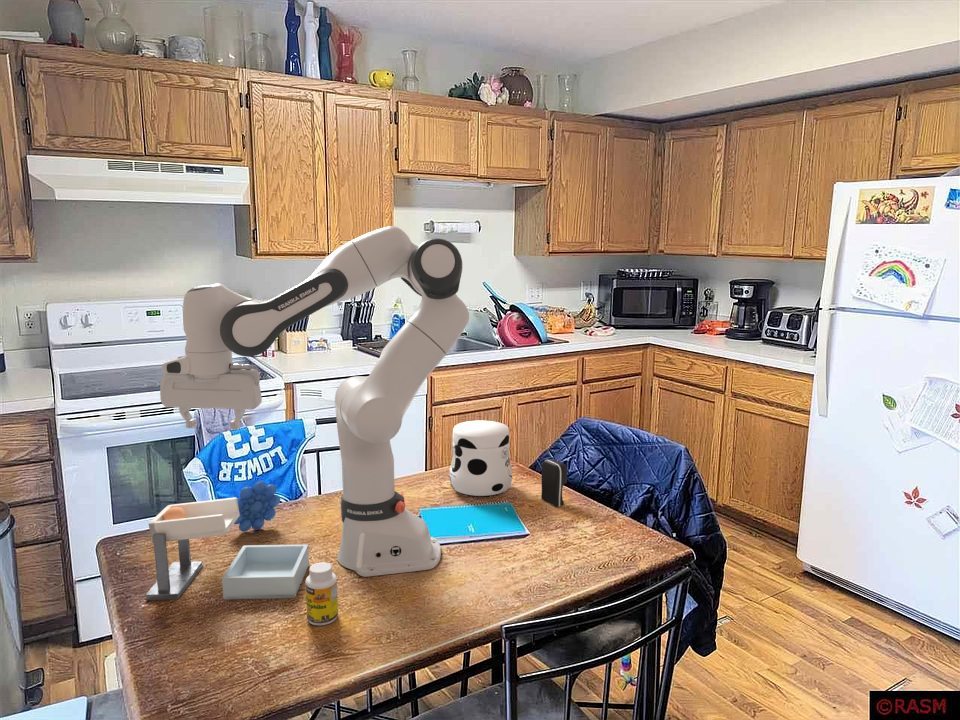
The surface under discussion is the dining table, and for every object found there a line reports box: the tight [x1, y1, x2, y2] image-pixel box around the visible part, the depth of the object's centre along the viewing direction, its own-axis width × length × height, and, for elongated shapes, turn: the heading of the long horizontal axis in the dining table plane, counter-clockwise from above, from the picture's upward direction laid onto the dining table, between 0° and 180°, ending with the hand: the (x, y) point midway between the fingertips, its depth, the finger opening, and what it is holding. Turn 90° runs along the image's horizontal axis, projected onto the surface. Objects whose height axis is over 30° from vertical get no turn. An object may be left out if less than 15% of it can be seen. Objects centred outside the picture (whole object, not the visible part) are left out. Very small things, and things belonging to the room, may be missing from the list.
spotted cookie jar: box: [448, 419, 513, 499], centre depth 182 cm, size 17×17×18 cm
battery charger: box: [540, 458, 568, 508], centre depth 174 cm, size 7×4×11 cm, turn 34°
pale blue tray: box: [221, 544, 310, 600], centre depth 135 cm, size 14×14×4 cm
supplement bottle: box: [305, 561, 339, 626], centre depth 121 cm, size 6×6×10 cm
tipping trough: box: [148, 497, 240, 544], centre depth 135 cm, size 14×16×4 cm
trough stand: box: [145, 533, 204, 601], centre depth 133 cm, size 6×13×13 cm, turn 3°
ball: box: [164, 507, 186, 520], centre depth 131 cm, size 4×4×4 cm
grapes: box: [233, 480, 281, 533], centre depth 158 cm, size 12×7×12 cm, turn 121°
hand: (213, 428), depth 139 cm, fingers open, 8 cm apart
